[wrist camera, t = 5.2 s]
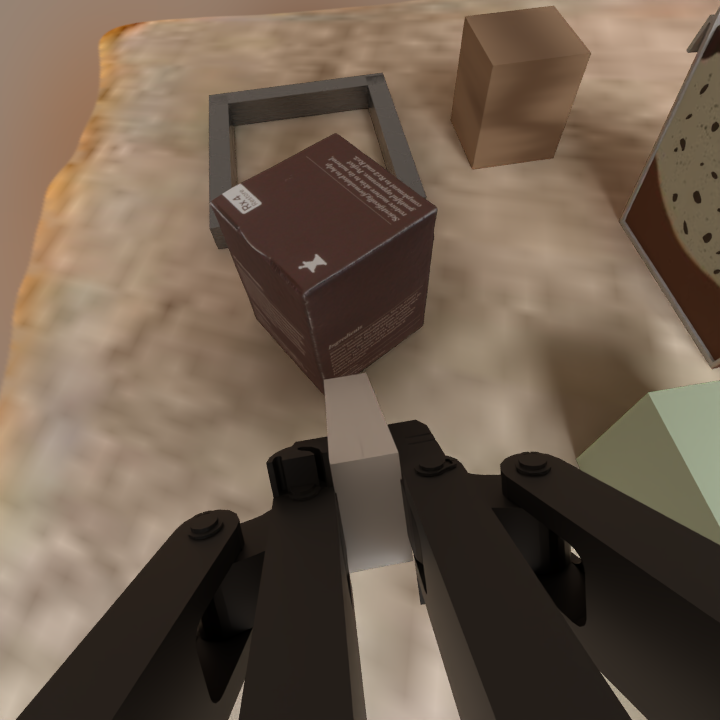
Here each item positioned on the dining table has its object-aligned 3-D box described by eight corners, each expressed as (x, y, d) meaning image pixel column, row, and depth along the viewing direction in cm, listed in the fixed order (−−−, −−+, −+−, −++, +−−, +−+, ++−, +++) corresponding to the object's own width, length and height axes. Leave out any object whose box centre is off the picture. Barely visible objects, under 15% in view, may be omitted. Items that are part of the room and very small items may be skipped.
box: (426, 329, 23) (444, 208, 16) (325, 402, 21) (301, 298, 15) (347, 256, 25) (337, 128, 19) (251, 316, 23) (204, 196, 17)
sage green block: (693, 438, 19) (806, 365, 14) (766, 569, 17) (937, 538, 12) (575, 459, 19) (647, 392, 14) (631, 595, 17) (745, 575, 11)
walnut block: (524, 110, 31) (553, 5, 26) (552, 158, 29) (591, 53, 23) (450, 120, 31) (465, 16, 26) (472, 170, 28) (493, 65, 23)
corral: (382, 95, 32) (382, 72, 31) (424, 218, 26) (426, 196, 25) (215, 117, 32) (208, 95, 31) (218, 249, 26) (209, 228, 24)
